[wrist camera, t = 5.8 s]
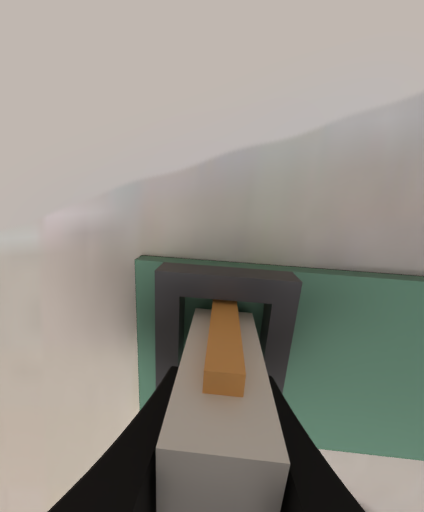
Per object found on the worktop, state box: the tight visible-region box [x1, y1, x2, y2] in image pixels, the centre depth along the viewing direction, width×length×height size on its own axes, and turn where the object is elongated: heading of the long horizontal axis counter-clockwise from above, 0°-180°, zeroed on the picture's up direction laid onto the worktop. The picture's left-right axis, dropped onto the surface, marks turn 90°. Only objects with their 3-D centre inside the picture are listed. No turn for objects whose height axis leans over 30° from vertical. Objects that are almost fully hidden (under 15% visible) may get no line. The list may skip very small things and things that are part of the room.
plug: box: [156, 299, 290, 512], centre depth 8 cm, size 3×5×6 cm, turn 177°
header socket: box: [155, 262, 303, 394], centre depth 11 cm, size 7×9×2 cm
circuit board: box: [135, 255, 424, 461], centre depth 13 cm, size 20×12×1 cm, turn 87°
